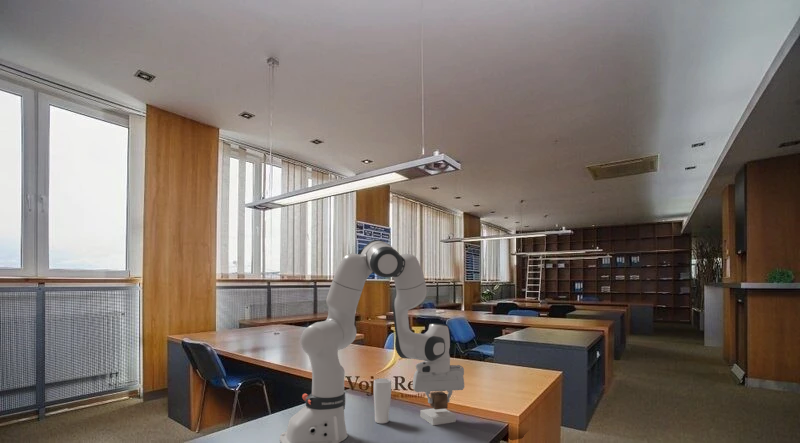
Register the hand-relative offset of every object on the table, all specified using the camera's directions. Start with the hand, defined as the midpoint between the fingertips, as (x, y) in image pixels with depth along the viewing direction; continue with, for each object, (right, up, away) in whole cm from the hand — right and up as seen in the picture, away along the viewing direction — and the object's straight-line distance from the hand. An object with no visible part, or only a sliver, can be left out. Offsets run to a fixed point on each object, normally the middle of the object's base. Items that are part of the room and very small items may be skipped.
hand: (438, 402), depth 161 cm
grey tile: (0, -6, 0) cm, 6 cm away
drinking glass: (-22, -6, -4) cm, 23 cm away
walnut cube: (0, -2, 0) cm, 2 cm away
